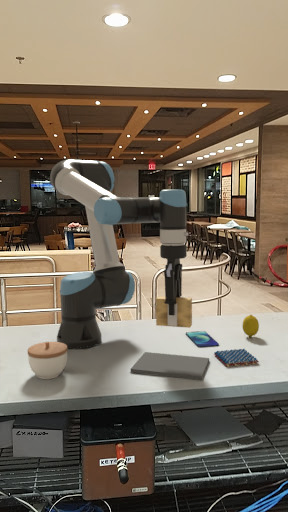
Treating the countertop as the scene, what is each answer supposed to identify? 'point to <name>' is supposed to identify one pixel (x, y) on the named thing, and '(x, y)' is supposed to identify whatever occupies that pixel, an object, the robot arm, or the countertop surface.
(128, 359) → the countertop surface
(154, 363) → the mat
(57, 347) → the lidded jar
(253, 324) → the lemon
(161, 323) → the block
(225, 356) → the woven mat
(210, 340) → the smartphone
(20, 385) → the countertop surface
